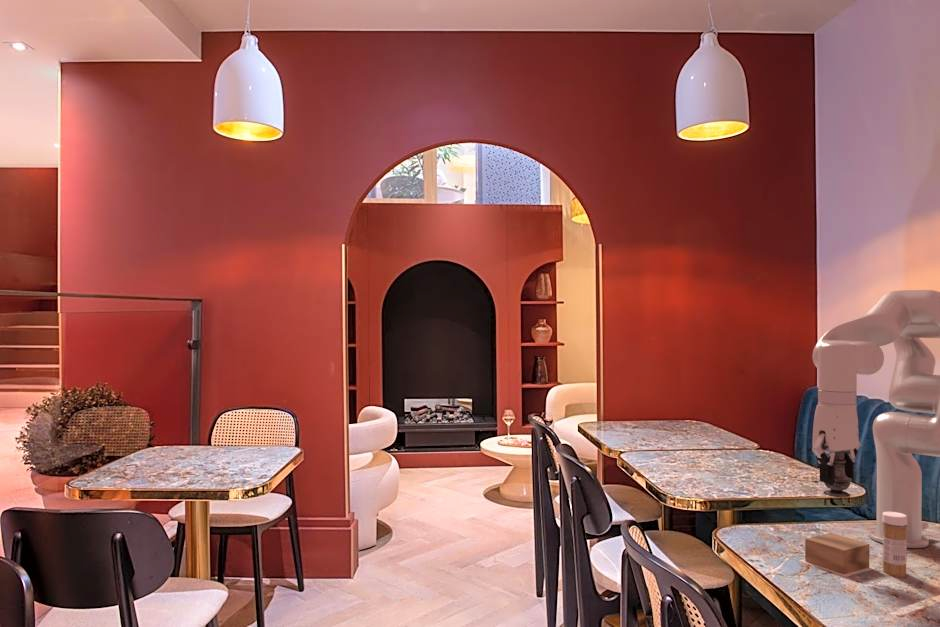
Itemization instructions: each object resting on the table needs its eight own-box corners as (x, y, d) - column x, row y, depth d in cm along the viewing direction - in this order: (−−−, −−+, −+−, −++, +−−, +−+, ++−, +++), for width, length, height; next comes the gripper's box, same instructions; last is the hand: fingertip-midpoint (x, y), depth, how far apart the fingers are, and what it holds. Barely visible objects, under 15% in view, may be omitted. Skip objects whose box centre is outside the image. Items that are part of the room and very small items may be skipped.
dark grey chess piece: (855, 498, 152) (855, 442, 152) (825, 496, 153) (826, 441, 153) (847, 491, 158) (847, 437, 158) (818, 490, 159) (818, 436, 159)
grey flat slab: (831, 555, 164) (831, 551, 164) (882, 571, 153) (882, 567, 153) (785, 566, 156) (785, 562, 156) (836, 584, 146) (837, 580, 146)
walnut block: (830, 554, 161) (830, 532, 161) (869, 567, 153) (869, 544, 153) (805, 561, 157) (805, 538, 157) (843, 574, 149) (843, 550, 149)
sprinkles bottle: (905, 575, 151) (905, 512, 151) (908, 582, 147) (908, 517, 147) (880, 571, 153) (881, 509, 153) (883, 579, 149) (883, 515, 149)
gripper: (845, 395, 163) (845, 473, 163) (796, 399, 155) (795, 481, 155) (877, 398, 156) (877, 480, 156) (827, 403, 148) (827, 489, 148)
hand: (836, 480), depth 156 cm, fingers closed on dark grey chess piece, 5 cm apart
